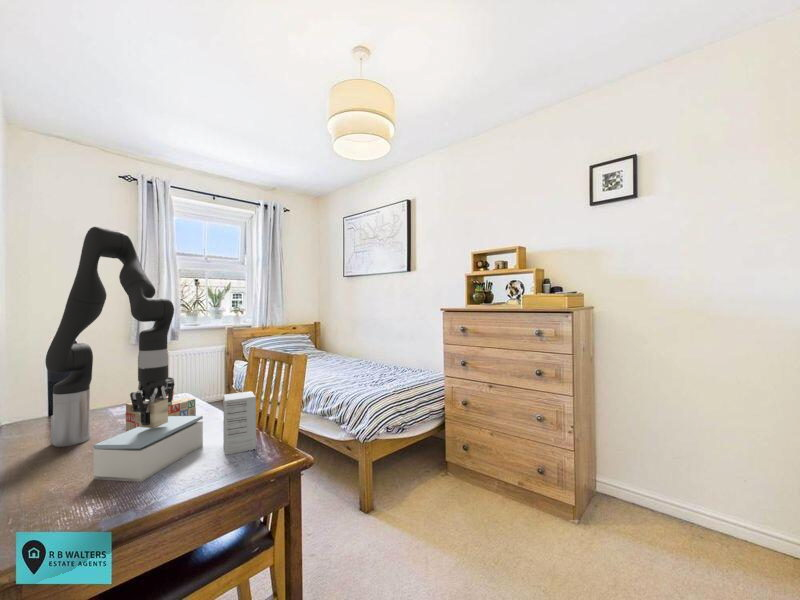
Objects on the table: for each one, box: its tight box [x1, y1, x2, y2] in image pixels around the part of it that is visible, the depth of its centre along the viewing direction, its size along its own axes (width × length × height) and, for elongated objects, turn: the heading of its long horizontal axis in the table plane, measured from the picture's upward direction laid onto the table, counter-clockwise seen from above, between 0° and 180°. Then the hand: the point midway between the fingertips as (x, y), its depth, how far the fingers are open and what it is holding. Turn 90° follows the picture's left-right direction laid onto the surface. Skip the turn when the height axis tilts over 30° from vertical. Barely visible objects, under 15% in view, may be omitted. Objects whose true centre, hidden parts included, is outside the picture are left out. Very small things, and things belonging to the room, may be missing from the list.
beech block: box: [139, 399, 168, 428], centre depth 106 cm, size 5×5×7 cm
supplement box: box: [222, 391, 257, 456], centre depth 116 cm, size 10×9×17 cm
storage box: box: [93, 420, 204, 483], centre depth 106 cm, size 14×24×8 cm, turn 173°
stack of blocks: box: [125, 396, 197, 432], centre depth 133 cm, size 21×6×12 cm, turn 152°
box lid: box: [93, 415, 203, 450], centre depth 106 cm, size 14×24×1 cm, turn 172°
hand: (153, 421), depth 106 cm, fingers closed on beech block, 5 cm apart
